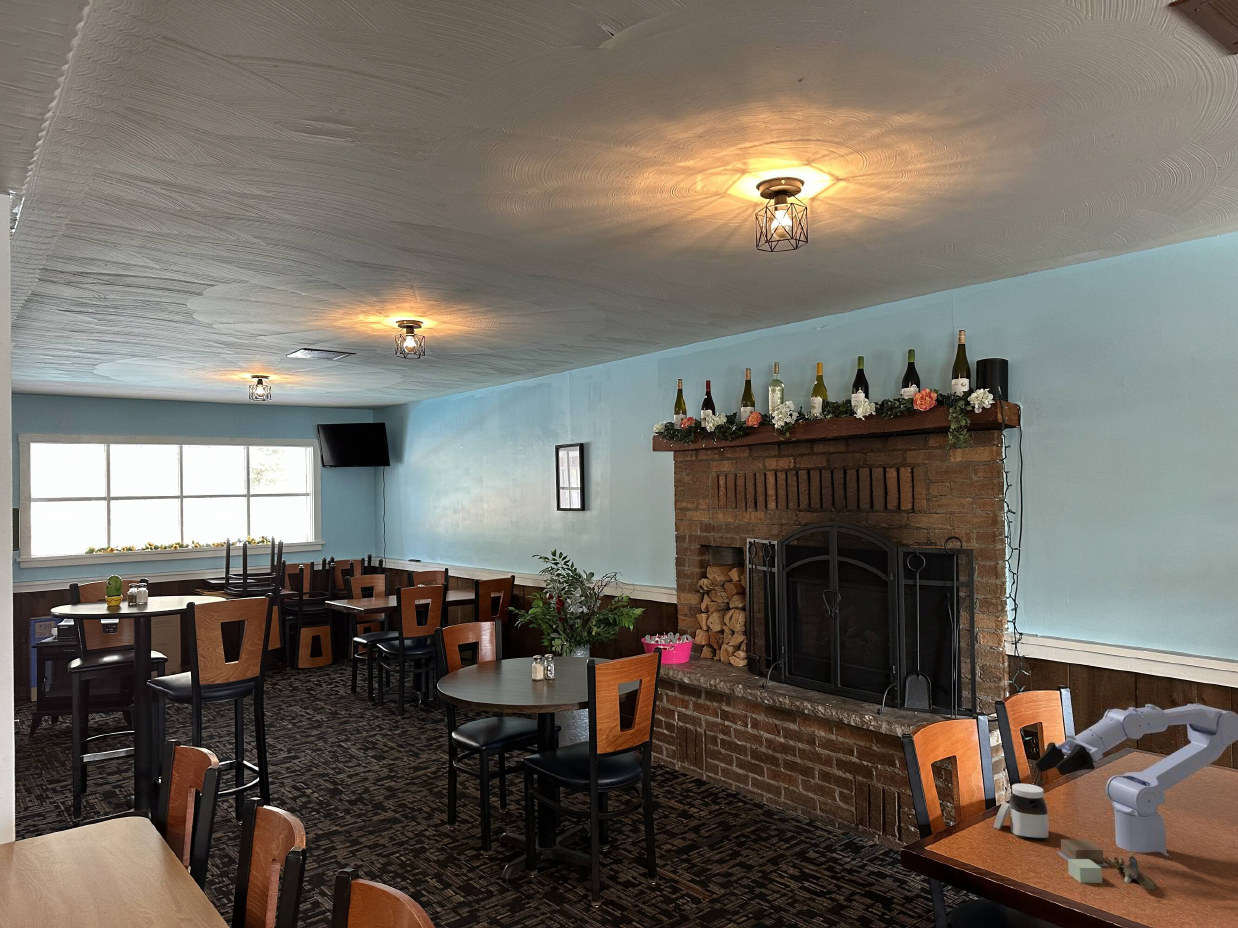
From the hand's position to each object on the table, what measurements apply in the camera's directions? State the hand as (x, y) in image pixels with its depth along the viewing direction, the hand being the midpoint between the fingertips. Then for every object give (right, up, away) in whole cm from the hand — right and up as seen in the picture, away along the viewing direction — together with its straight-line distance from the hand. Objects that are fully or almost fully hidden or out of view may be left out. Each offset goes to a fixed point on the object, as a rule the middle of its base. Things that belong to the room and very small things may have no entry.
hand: (1048, 769), depth 186 cm
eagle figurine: (+10, -19, -16) cm, 26 cm away
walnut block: (+6, -18, -4) cm, 20 cm away
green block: (+1, -19, -14) cm, 23 cm away
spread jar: (0, -21, +12) cm, 24 cm away
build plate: (+6, -19, -2) cm, 20 cm away
